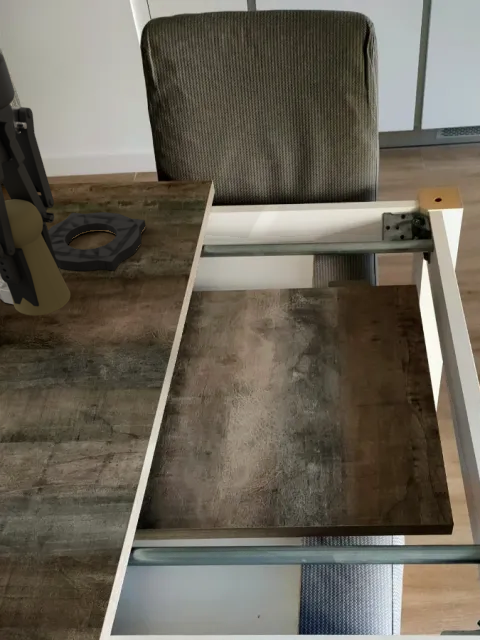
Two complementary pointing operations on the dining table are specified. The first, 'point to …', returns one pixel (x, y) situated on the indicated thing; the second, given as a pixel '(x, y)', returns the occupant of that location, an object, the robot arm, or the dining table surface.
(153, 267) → the dining table surface
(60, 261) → the base pad
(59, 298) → the olive pawn
